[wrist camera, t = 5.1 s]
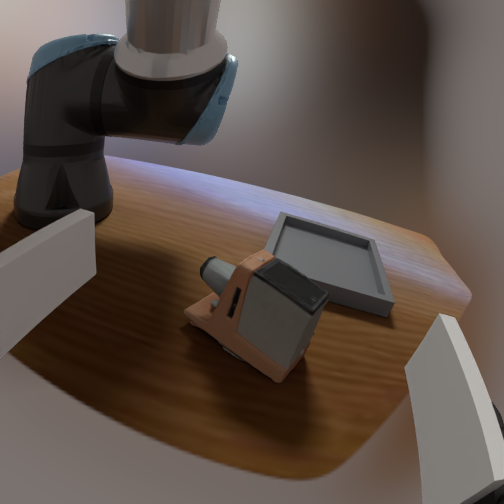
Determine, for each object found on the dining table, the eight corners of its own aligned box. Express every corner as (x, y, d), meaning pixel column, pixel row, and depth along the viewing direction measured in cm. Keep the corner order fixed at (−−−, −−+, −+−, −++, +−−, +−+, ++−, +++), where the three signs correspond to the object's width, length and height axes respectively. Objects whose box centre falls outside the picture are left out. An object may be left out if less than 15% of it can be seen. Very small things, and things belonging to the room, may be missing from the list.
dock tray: (253, 279, 32) (258, 263, 31) (277, 223, 47) (280, 211, 46) (386, 317, 31) (394, 302, 30) (369, 251, 46) (374, 240, 45)
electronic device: (214, 300, 28) (228, 225, 24) (306, 355, 24) (340, 280, 20) (180, 321, 24) (189, 240, 21) (280, 388, 21) (316, 310, 17)
